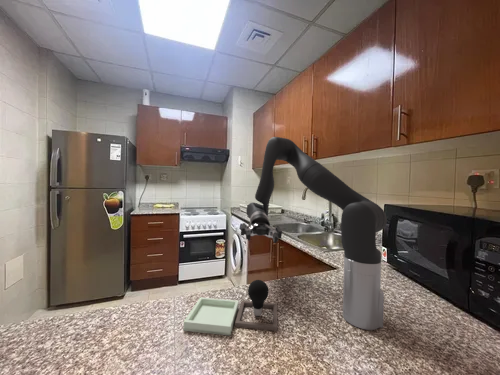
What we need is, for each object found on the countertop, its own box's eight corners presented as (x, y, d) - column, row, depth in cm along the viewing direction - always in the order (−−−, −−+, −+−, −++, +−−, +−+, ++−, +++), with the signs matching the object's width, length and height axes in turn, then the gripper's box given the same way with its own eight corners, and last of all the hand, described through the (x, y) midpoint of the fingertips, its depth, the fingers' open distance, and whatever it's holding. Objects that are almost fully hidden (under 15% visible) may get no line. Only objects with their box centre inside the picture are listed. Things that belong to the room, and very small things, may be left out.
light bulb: (266, 324, 56) (267, 286, 56) (245, 320, 57) (246, 284, 57) (268, 311, 61) (269, 277, 61) (249, 308, 62) (250, 275, 63)
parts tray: (238, 308, 63) (238, 300, 63) (230, 335, 51) (230, 326, 51) (200, 304, 64) (200, 297, 64) (183, 330, 52) (183, 321, 52)
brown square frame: (276, 306, 64) (276, 303, 64) (277, 331, 53) (277, 327, 53) (241, 303, 65) (241, 300, 65) (234, 326, 54) (235, 322, 54)
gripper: (242, 211, 82) (241, 226, 66) (278, 215, 83) (285, 229, 67) (240, 229, 83) (239, 248, 67) (276, 232, 84) (282, 251, 68)
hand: (262, 239), depth 67 cm, fingers open, 8 cm apart
